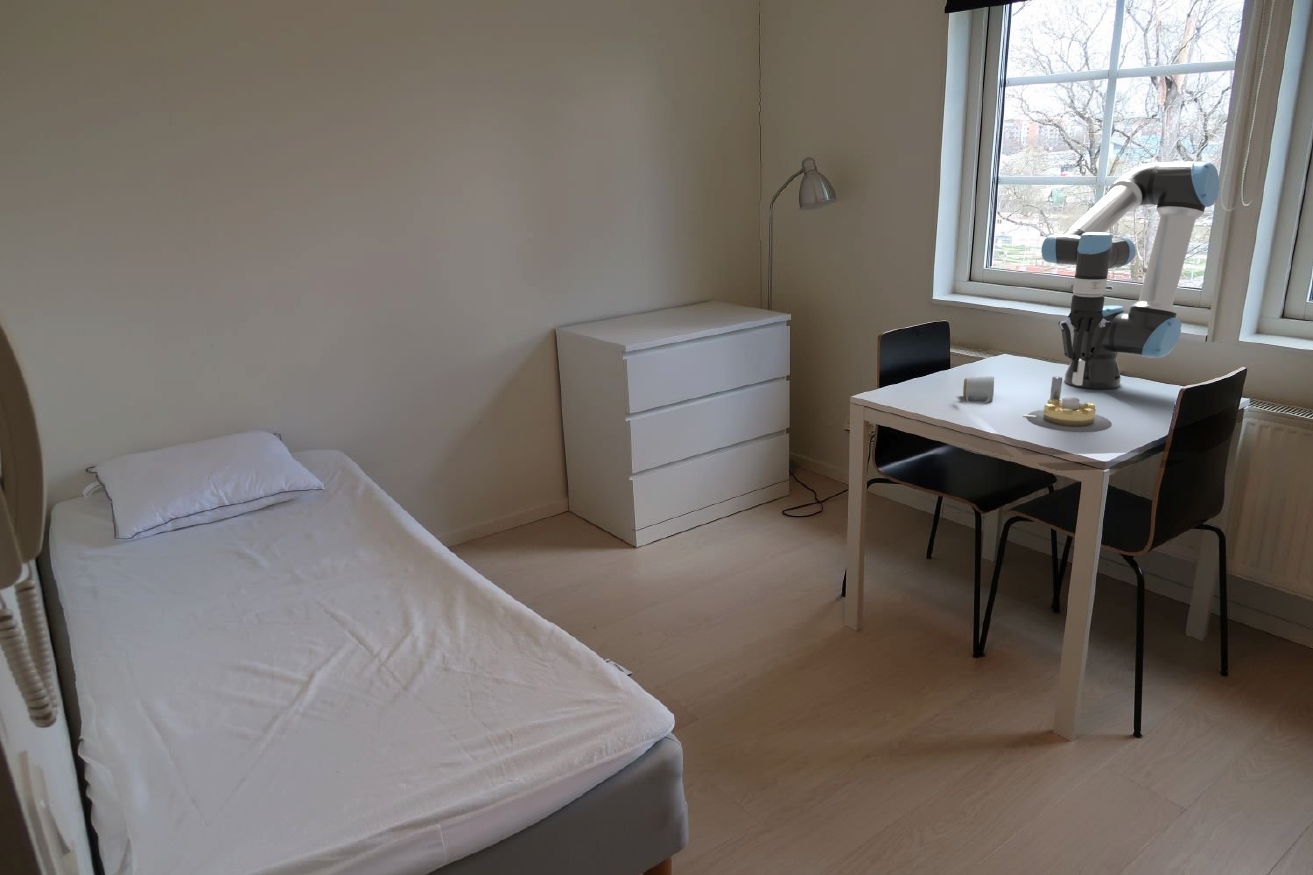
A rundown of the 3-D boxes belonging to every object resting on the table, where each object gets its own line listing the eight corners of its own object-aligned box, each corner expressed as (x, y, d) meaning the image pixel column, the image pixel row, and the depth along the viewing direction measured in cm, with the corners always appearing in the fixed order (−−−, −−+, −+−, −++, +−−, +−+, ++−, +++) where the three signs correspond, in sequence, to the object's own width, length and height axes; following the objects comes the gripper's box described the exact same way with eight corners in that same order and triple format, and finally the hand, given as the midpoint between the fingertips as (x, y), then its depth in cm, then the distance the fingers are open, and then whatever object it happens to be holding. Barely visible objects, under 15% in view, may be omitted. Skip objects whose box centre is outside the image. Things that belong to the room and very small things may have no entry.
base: (1088, 413, 235) (1092, 388, 233) (1126, 436, 216) (1130, 409, 214) (1014, 415, 235) (1016, 390, 233) (1044, 438, 216) (1047, 411, 214)
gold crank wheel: (1103, 425, 219) (1107, 391, 216) (1054, 427, 219) (1058, 393, 217) (1074, 407, 235) (1078, 375, 232) (1029, 409, 235) (1032, 377, 232)
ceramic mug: (962, 398, 253) (964, 372, 251) (993, 399, 250) (995, 373, 248) (961, 408, 244) (963, 382, 241) (992, 410, 241) (995, 383, 238)
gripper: (1069, 297, 220) (1058, 388, 228) (1121, 296, 220) (1108, 387, 227) (1056, 293, 228) (1046, 381, 235) (1107, 292, 227) (1095, 380, 235)
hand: (1076, 384), depth 231 cm, fingers closed
